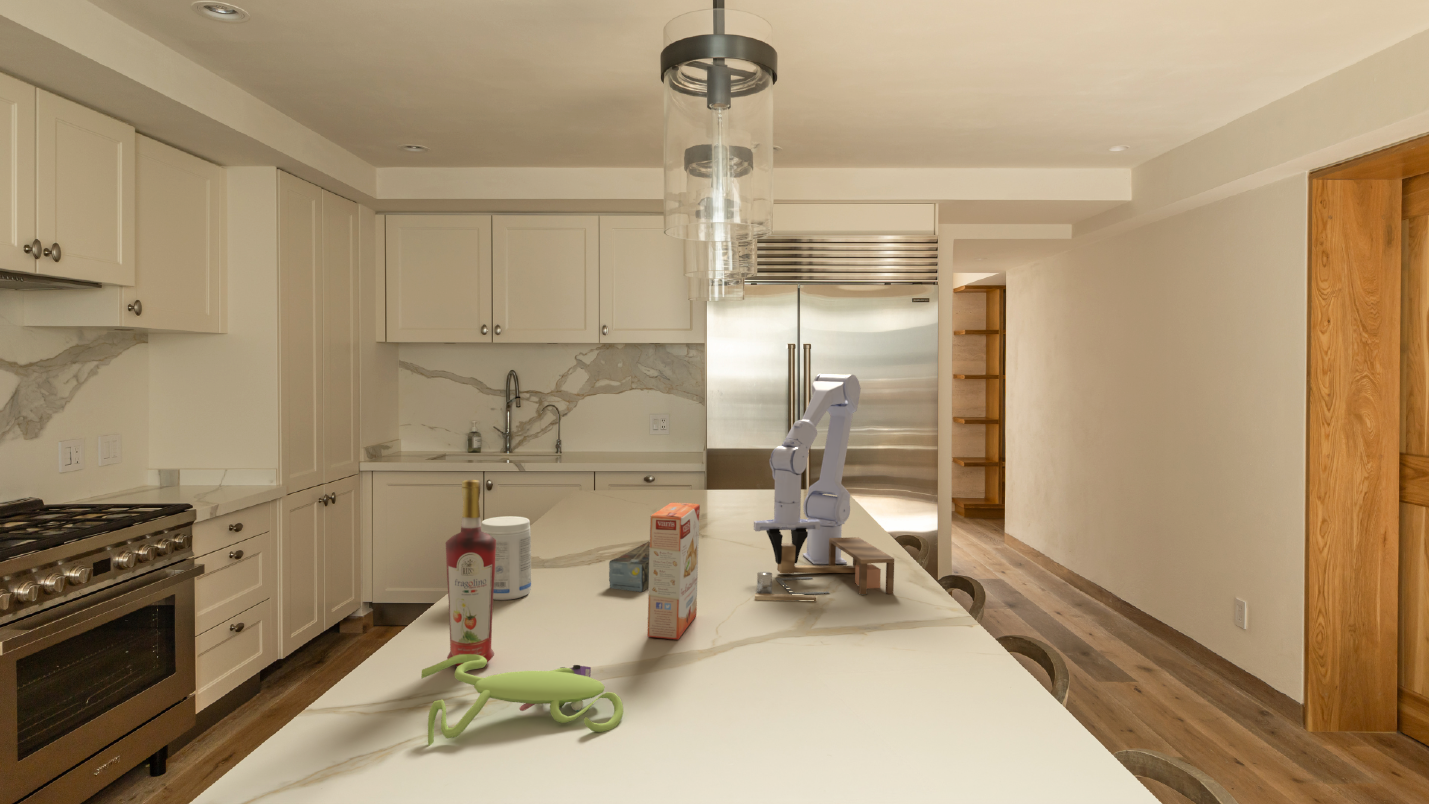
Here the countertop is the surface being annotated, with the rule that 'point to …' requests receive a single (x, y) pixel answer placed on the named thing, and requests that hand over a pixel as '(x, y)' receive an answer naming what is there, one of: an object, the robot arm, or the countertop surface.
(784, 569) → the oak crook
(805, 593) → the tape bracket
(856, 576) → the terracotta cube
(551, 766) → the countertop surface
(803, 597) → the maple bar
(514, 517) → the supplement tub
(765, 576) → the spice tin
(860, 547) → the wooden bench
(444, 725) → the figurine
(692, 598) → the cracker box
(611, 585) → the beverage carton
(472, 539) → the liquor
